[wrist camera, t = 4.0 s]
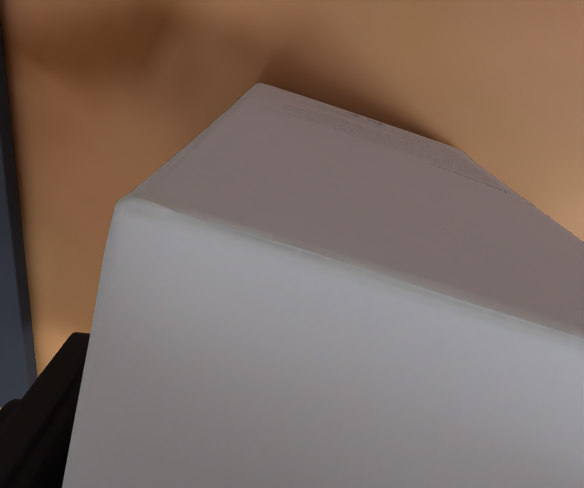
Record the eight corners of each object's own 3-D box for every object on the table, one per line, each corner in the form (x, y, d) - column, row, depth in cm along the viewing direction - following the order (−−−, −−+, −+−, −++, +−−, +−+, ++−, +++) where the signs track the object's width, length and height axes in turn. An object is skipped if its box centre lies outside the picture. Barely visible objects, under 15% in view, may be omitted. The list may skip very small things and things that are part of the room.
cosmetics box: (243, 74, 13) (83, 180, 3) (464, 148, 14) (883, 417, 4) (162, 378, 17) (-20, 842, 7) (337, 423, 17) (390, 899, 8)
